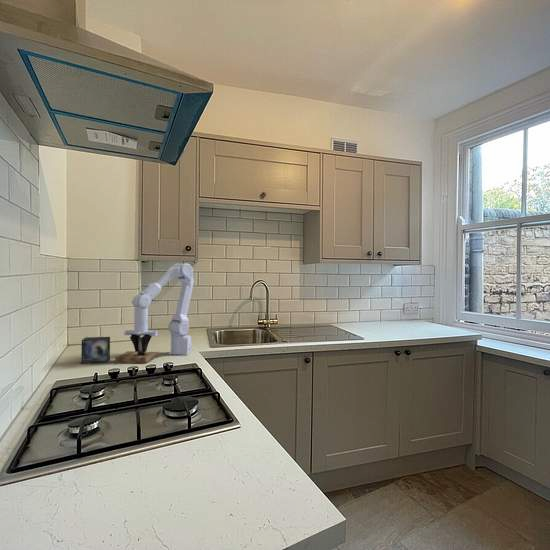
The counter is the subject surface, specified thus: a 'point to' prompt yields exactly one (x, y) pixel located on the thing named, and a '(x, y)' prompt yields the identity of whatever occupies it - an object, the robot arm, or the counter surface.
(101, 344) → the small box
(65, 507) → the counter surface
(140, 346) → the peg
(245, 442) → the counter surface
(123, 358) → the hole block
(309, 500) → the counter surface
